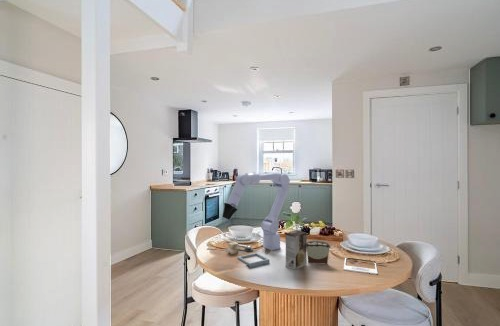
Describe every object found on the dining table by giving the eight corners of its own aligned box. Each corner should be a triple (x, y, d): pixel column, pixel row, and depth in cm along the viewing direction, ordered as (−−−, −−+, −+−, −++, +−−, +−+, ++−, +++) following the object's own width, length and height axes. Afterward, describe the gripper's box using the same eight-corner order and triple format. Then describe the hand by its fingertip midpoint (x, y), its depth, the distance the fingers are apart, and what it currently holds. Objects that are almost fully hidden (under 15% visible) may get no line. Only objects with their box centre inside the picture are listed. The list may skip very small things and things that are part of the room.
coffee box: (296, 261, 145) (296, 229, 145) (306, 265, 141) (307, 232, 140) (284, 266, 139) (285, 233, 139) (295, 270, 134) (295, 235, 134)
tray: (256, 256, 152) (256, 252, 152) (269, 263, 143) (269, 259, 143) (237, 260, 146) (237, 256, 146) (249, 267, 136) (249, 263, 136)
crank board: (245, 246, 170) (245, 243, 170) (257, 252, 159) (257, 249, 159) (222, 250, 162) (222, 247, 162) (233, 257, 151) (233, 254, 151)
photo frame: (343, 268, 134) (345, 256, 151) (343, 271, 134) (345, 258, 151) (377, 273, 129) (375, 260, 146) (377, 275, 129) (375, 262, 146)
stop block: (234, 250, 159) (234, 241, 159) (238, 252, 156) (238, 243, 156) (228, 251, 157) (228, 242, 157) (231, 254, 153) (232, 244, 153)
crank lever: (252, 248, 160) (252, 239, 160) (250, 249, 158) (250, 241, 158) (234, 245, 166) (234, 237, 166) (231, 246, 163) (232, 238, 163)
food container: (328, 260, 148) (328, 240, 148) (330, 264, 142) (330, 244, 142) (304, 259, 149) (304, 239, 149) (305, 263, 143) (305, 243, 143)
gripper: (231, 194, 164) (222, 216, 161) (226, 189, 150) (215, 213, 147) (243, 199, 162) (233, 221, 159) (239, 194, 148) (228, 219, 145)
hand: (225, 218), depth 153 cm, fingers open, 7 cm apart
